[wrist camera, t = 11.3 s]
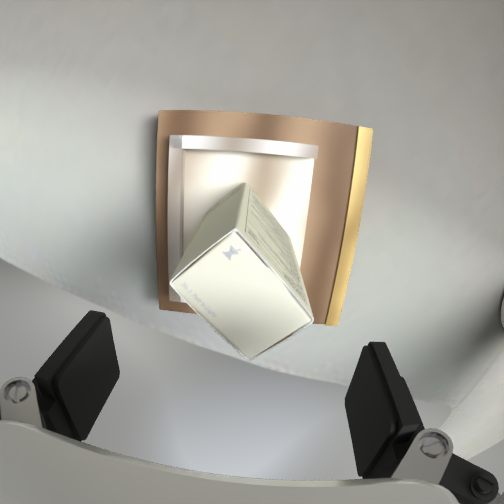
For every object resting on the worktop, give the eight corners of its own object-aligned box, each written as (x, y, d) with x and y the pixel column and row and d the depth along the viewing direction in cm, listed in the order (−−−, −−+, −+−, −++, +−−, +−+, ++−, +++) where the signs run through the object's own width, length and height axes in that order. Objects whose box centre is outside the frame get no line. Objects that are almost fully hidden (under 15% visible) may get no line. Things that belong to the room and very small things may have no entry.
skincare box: (205, 213, 26) (160, 280, 15) (247, 179, 25) (233, 222, 13) (253, 269, 28) (245, 365, 16) (295, 239, 26) (317, 322, 15)
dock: (361, 128, 26) (378, 129, 22) (331, 308, 32) (340, 333, 28) (169, 112, 26) (152, 109, 22) (167, 294, 32) (155, 317, 28)
